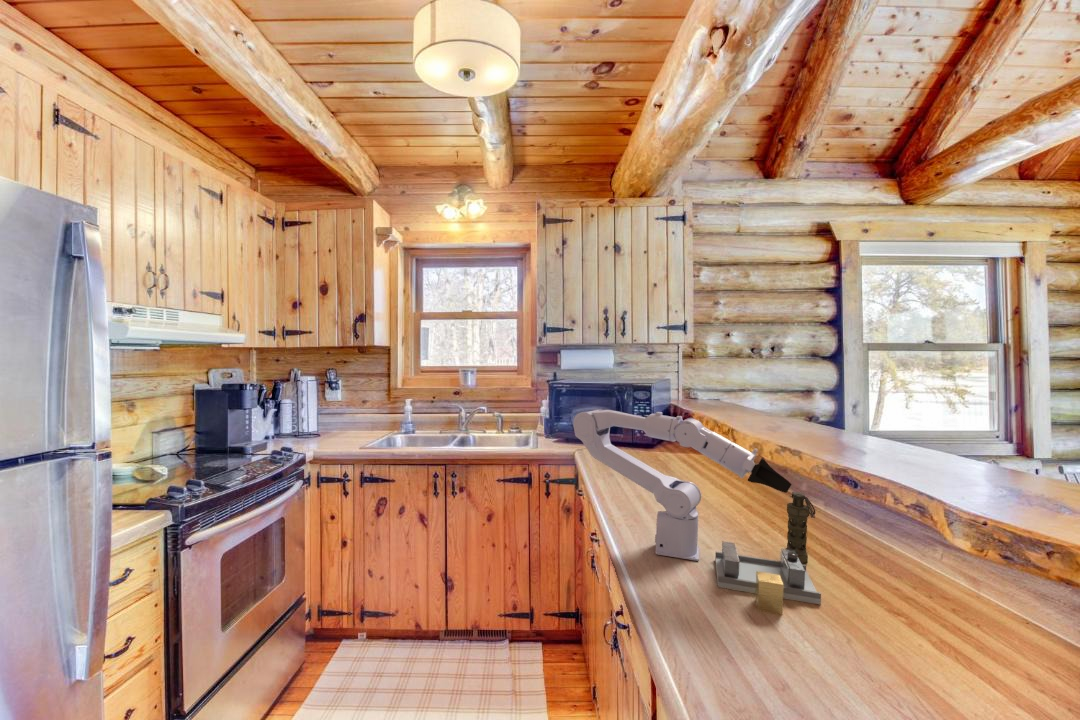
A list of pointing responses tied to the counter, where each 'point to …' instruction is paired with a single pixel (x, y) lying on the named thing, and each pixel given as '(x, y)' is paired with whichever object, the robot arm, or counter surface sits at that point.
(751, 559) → the board
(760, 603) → the block
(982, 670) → the counter surface
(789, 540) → the grenade
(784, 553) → the bar
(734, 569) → the fixed jaw
